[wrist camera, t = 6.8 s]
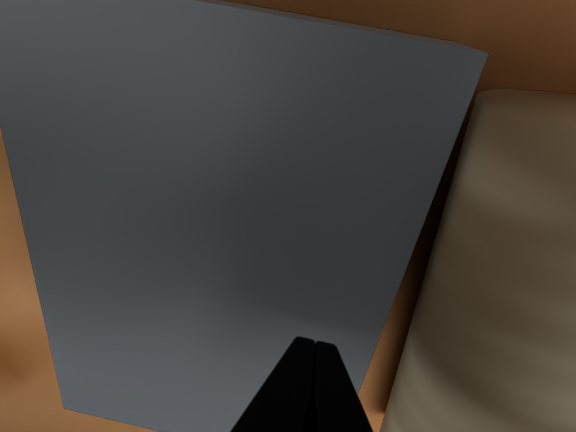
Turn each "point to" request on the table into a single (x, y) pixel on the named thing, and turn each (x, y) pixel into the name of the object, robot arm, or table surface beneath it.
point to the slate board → (216, 190)
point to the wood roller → (499, 280)
